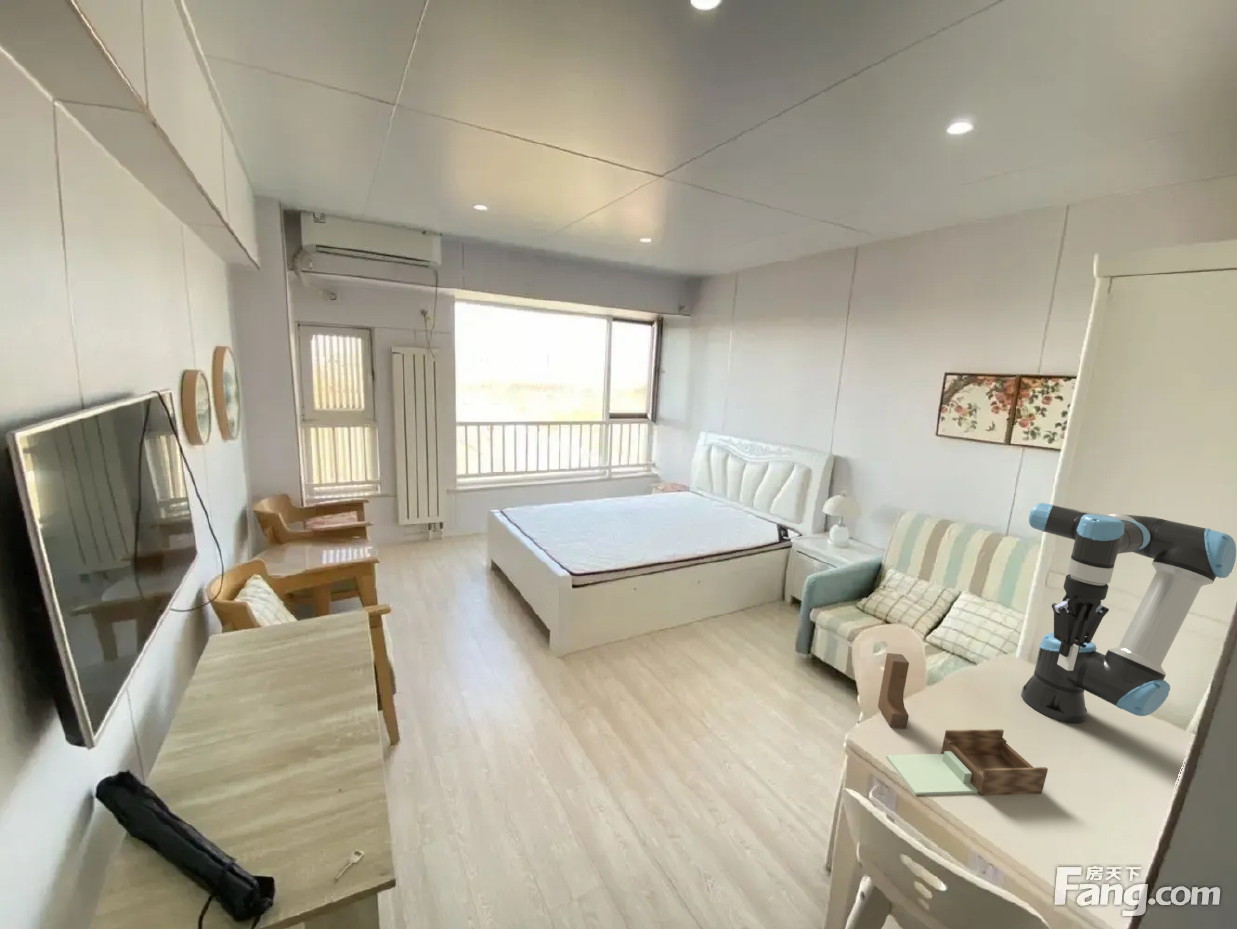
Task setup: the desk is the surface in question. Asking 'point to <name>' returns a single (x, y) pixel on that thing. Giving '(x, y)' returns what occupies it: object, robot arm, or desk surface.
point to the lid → (933, 773)
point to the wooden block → (894, 691)
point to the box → (994, 763)
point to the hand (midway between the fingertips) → (1064, 667)
